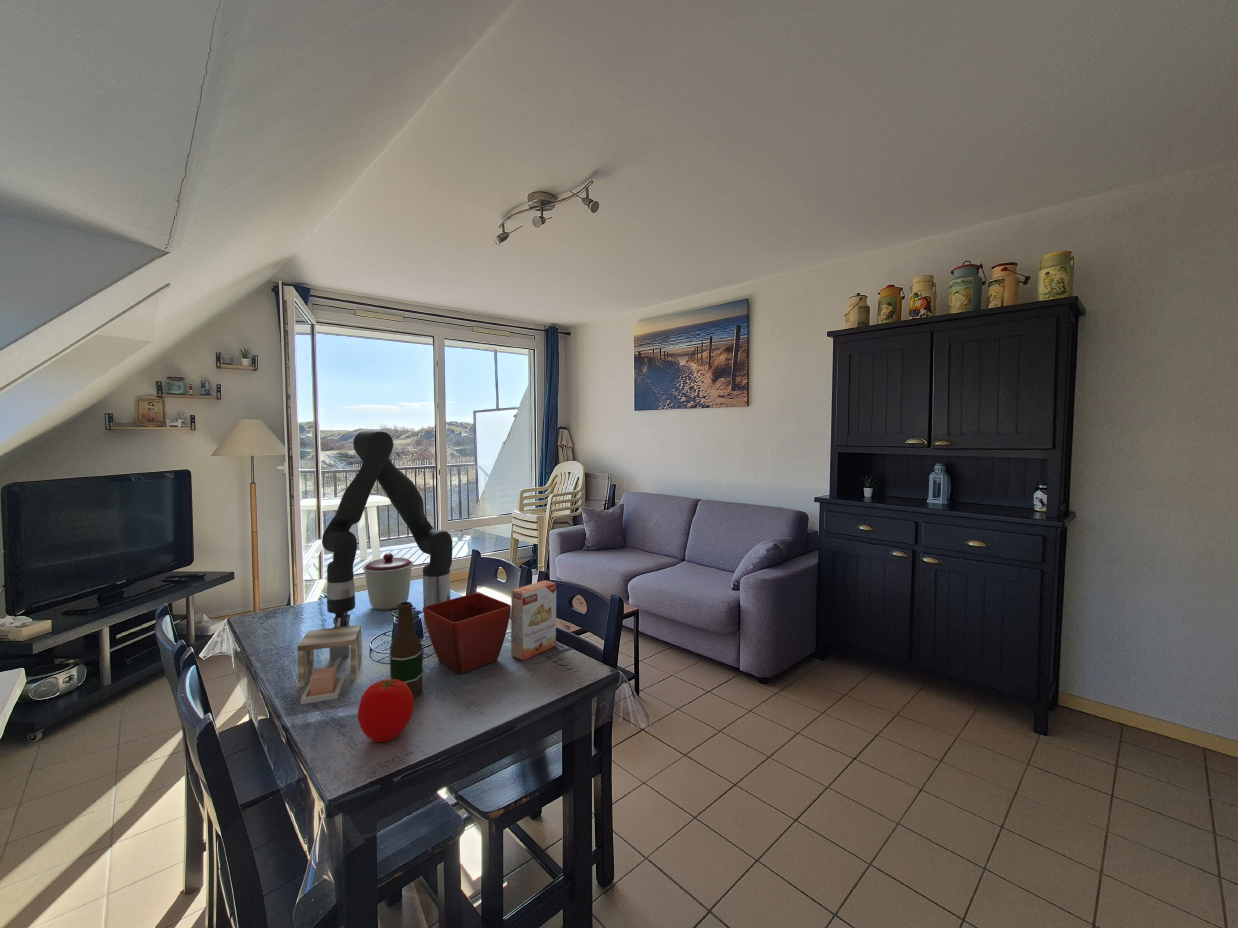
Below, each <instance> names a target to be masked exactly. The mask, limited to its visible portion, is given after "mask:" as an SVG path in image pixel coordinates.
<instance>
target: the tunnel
mask: <svg viewBox="0 0 1238 928" xmlns="http://www.w3.org/2000/svg"><path fill="white" fill-rule="evenodd" d="M362 643H363V642H362V625H361V624H355V625H349V626H346V627H337V628H333V627H329V628H319V629H313V630H307V632H306V633H305V635H304V637H302V639H301V640H300V642H299V643H298V645H297V646H296V647H297V671H298V673H297V674H298V675H297V676H298V688H302V687H303V688H304V687H305V686H306V684H307V682H308V680H310V677H311V675H312V673H313V672H314V670H315V650H322V649H330V648H331V647H339V646H348V645H349V647H350V655H349V657H350V659H349V661H350V680H355V679H357V677H358V674H359V672H360V668H361V666H362V663H363V647H362V646H363V644H362Z"/></svg>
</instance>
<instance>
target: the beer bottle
mask: <svg viewBox="0 0 1238 928" xmlns="http://www.w3.org/2000/svg"><path fill="white" fill-rule="evenodd" d="M413 607H414V606H413V603H412V602H411V601H407V602H402V603H400V604H398V606H397V608H396V609H397V610H398V611H397V612H398V613H397V615H398V616H397V630H396V634H395V636H394V638H393V639H392V640H391V644H390V647H389V666H390V667H389V672H390V676H389V677H390V678H389V679H397V680H400V681H402V682H404V683H405V684H406V685H407V686H408V687H409V688H410V690H411V692H412V695H413V698H416V697H417V696H418V695H419V694H421V692H422V691H423V651H422V650H423V649H422V643H421V640H420V637H418V635H417V634H416V633H415V629H414V622H413V620H414V619H413V612H412V611H413V609H412V608H413Z"/></svg>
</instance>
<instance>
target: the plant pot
mask: <svg viewBox="0 0 1238 928" xmlns="http://www.w3.org/2000/svg"><path fill="white" fill-rule="evenodd" d="M422 612H423V619H424V618H425V622H426V623H425V622H424V623H425V625H426V629H427V632H428V635H429V639H430V642H431V645H432V647H433V650H434V652H435V656H436V657H437V659H438V661H439V663H441V664H442V665H444V666H445V667H447V668H449V669H450V670H452V671H454V672H455V673H457V674H458V675H459V674H460V675H462V674H465V673H468V672H471V671H473V670H475V669H478V668H480V667H483V666H486V665H488V664H491V663H493V662H496V661H497V660H498V658H499V656H500V654H501V650H502V647H503V645H504V642H505V638H506V635H507V631H508V626H509V622H510V617H511V616H510V615H511V603H510V604H509V603H506V602H504V601H501V600H498V599H496V598H494V597H491V596H489V595H486V594H484V593H481V592H473V593H471V594H468V595H463V596H459V597H455V598H450V600H447V601H443V602H440V603H436V604H432V605H429V606H425V607H424V606H423V607H422Z"/></svg>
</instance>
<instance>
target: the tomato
mask: <svg viewBox="0 0 1238 928" xmlns="http://www.w3.org/2000/svg"><path fill="white" fill-rule="evenodd" d="M414 700H415V699H414V697H413V695H412V692H411V690H410V688H409V687H408V686H407V685H406V684H405V683H404V682H402V681H400V680H397V679H391V678H389V679H385V680H384V679H381V680H380V681H376V682H374V683H373V684H371V685H369V686H368V687H367V688H366V689H365V690H364V692H363V694H362V696H361V699H360V701H359V702H360V703H359V706H358V710H357V719H358V723H359V726H360V728H361V731H362V732H363V733H364V734H365V736H366V737H367V738H368V739H370V740H371V741H373V742H377V743H384V742H389V741H391V740H393V739H395V738H396V737H397V736H398V735H400V734H401V733H402V732H403V731H404V729H405V728H406V727H407V726H408V724H409V722H410V719H411V718H412V716H413V712H414V707H415V706H414V705H415V704H414V703H415V702H414Z"/></svg>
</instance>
